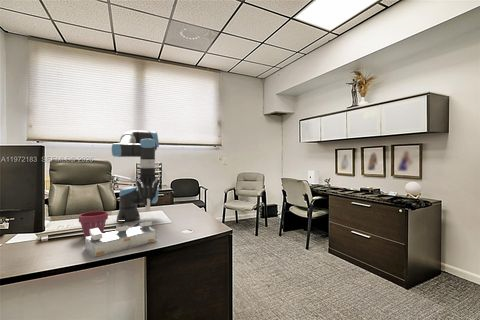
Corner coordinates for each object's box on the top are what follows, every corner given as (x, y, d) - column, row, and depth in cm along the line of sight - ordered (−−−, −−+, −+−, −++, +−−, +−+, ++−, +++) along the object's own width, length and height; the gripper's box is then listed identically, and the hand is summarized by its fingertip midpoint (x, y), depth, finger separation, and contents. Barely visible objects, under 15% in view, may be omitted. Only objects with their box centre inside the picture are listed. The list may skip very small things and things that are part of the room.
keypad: (125, 227, 139) (137, 221, 154) (125, 234, 139) (137, 226, 154) (141, 228, 139) (152, 221, 154) (141, 234, 139) (152, 227, 154)
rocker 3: (139, 226, 131) (139, 222, 131) (146, 225, 133) (145, 221, 134) (145, 226, 125) (144, 221, 126) (151, 224, 128) (151, 220, 128)
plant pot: (106, 230, 146) (106, 209, 145) (109, 236, 134) (109, 214, 134) (78, 234, 137) (78, 212, 137) (79, 241, 126) (79, 217, 126)
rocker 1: (89, 233, 114) (89, 228, 114) (97, 231, 117) (98, 227, 117) (93, 240, 109) (93, 235, 109) (102, 238, 111) (102, 233, 111)
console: (85, 248, 116) (85, 234, 116) (145, 234, 137) (145, 222, 137) (92, 258, 105) (92, 241, 105) (156, 241, 126) (156, 228, 126)
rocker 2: (116, 231, 123) (116, 227, 123) (123, 230, 125) (123, 225, 125) (121, 231, 117) (120, 226, 117) (128, 229, 119) (128, 224, 120)
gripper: (138, 168, 120) (138, 214, 120) (162, 167, 129) (162, 210, 129) (132, 167, 125) (132, 211, 125) (156, 167, 134) (156, 208, 134)
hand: (147, 211), depth 127 cm, fingers closed
